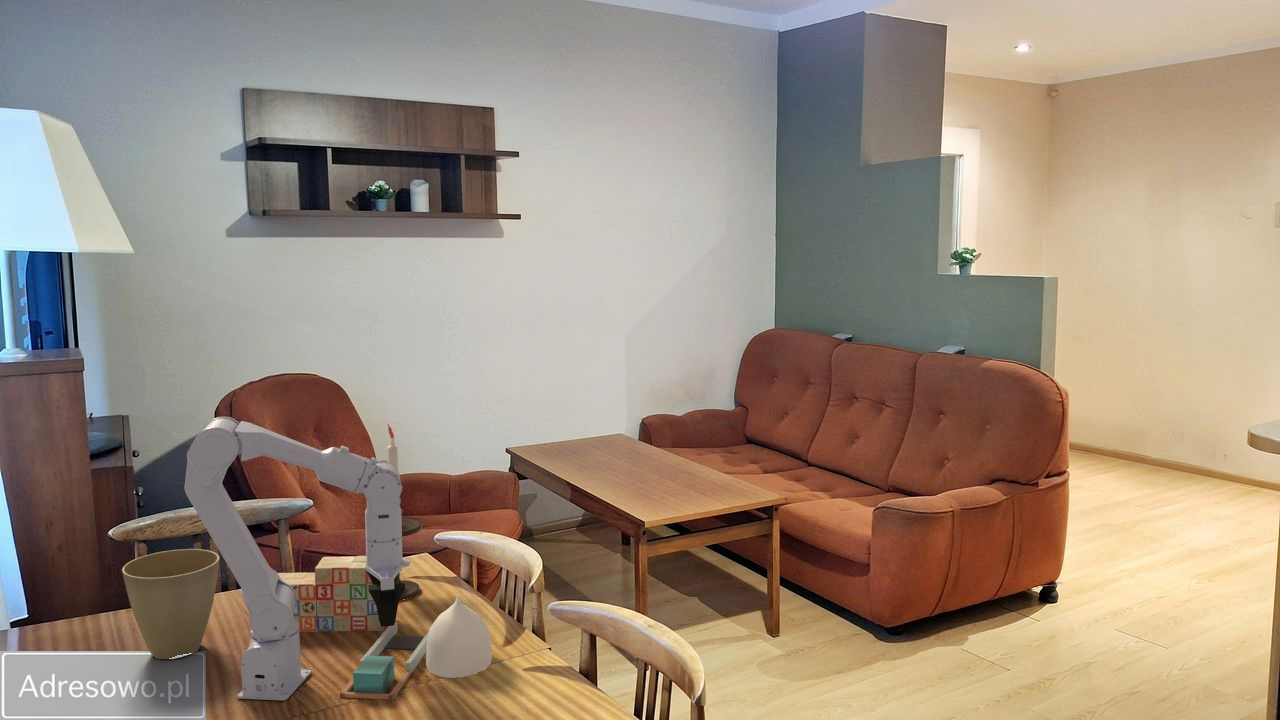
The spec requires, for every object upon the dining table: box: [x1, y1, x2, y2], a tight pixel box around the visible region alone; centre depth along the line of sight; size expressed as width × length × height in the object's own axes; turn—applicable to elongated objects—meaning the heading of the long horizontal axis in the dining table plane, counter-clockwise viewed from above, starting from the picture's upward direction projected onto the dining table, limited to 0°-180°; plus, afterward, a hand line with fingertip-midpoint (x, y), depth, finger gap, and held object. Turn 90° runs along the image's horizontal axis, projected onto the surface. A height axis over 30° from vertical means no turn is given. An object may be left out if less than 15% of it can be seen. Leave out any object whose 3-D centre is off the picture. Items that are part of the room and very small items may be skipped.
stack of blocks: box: [277, 555, 386, 633], centre depth 168 cm, size 21×6×12 cm, turn 94°
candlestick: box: [387, 424, 423, 601], centre depth 182 cm, size 11×11×35 cm
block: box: [352, 655, 395, 694], centre depth 145 cm, size 6×4×4 cm
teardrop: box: [425, 595, 493, 679], centre depth 153 cm, size 11×11×12 cm
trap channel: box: [339, 620, 430, 701], centre depth 154 cm, size 24×9×2 cm, turn 176°
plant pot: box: [121, 548, 220, 660], centre depth 157 cm, size 15×15×16 cm
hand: (386, 616), depth 150 cm, fingers open, 7 cm apart
